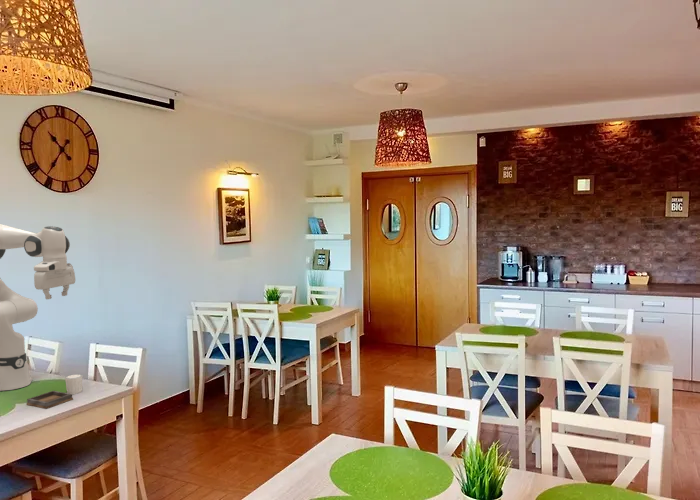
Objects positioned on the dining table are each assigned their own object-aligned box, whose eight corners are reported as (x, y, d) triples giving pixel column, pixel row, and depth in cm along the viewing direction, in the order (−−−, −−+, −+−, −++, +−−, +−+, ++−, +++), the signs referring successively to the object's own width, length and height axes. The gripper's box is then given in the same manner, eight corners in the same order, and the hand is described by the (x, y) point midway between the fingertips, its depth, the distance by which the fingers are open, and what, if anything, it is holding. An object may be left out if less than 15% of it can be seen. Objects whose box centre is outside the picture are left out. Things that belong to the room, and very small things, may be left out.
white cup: (86, 389, 240) (85, 374, 240) (77, 394, 234) (76, 378, 233) (71, 389, 241) (71, 373, 241) (62, 394, 234) (61, 378, 234)
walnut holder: (26, 404, 222) (26, 399, 222) (53, 395, 233) (53, 390, 233) (46, 408, 217) (46, 403, 217) (73, 399, 228) (72, 394, 228)
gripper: (65, 262, 242) (67, 293, 243) (30, 267, 222) (32, 301, 223) (78, 262, 240) (79, 293, 241) (44, 267, 220) (45, 301, 221)
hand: (56, 297), depth 232 cm, fingers open, 8 cm apart
